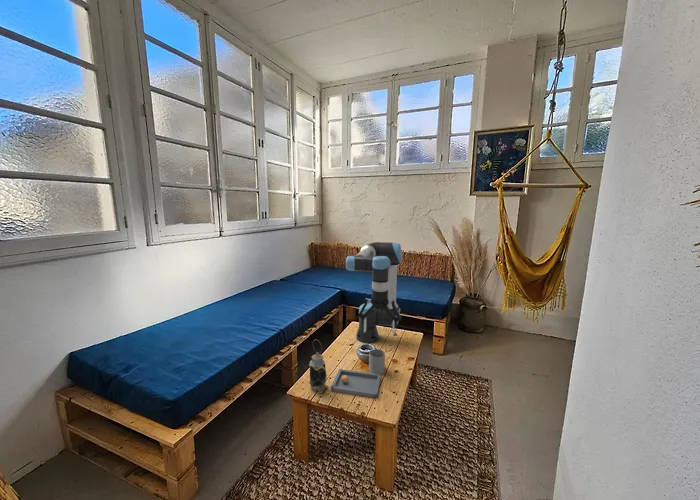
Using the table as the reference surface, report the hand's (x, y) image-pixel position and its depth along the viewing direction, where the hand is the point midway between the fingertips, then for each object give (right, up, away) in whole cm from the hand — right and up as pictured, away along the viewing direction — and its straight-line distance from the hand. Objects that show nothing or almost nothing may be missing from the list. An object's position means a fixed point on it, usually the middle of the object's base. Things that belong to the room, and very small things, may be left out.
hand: (379, 332), depth 136 cm
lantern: (-29, -28, +3) cm, 41 cm away
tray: (-11, -27, +5) cm, 30 cm away
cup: (+1, -26, +18) cm, 31 cm away
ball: (-16, -27, +6) cm, 32 cm away
